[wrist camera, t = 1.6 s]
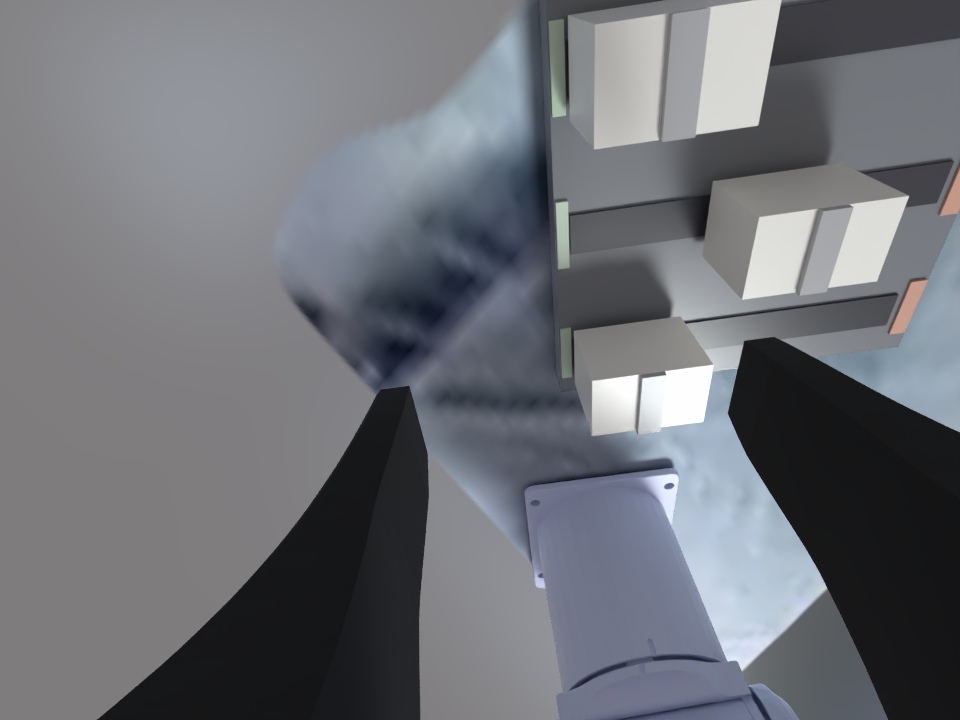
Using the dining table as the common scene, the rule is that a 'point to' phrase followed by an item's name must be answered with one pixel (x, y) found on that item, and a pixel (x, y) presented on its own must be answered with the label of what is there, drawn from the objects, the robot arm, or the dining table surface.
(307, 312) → the dining table surface
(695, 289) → the panel
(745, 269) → the block
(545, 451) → the dining table surface
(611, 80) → the block
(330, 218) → the dining table surface
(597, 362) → the block
